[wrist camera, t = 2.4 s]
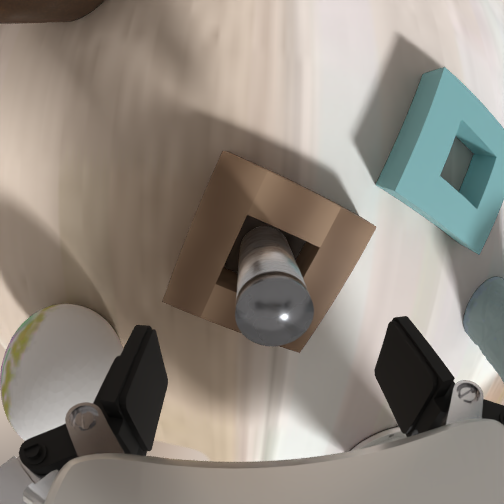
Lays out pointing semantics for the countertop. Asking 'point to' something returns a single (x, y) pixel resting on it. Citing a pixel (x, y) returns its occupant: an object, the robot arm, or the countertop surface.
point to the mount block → (278, 215)
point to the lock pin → (270, 290)
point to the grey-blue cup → (488, 321)
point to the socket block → (435, 155)
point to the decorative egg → (55, 366)
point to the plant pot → (45, 10)
